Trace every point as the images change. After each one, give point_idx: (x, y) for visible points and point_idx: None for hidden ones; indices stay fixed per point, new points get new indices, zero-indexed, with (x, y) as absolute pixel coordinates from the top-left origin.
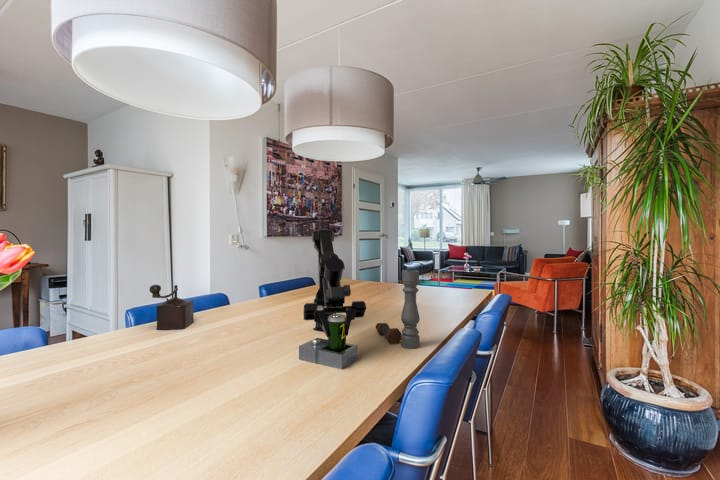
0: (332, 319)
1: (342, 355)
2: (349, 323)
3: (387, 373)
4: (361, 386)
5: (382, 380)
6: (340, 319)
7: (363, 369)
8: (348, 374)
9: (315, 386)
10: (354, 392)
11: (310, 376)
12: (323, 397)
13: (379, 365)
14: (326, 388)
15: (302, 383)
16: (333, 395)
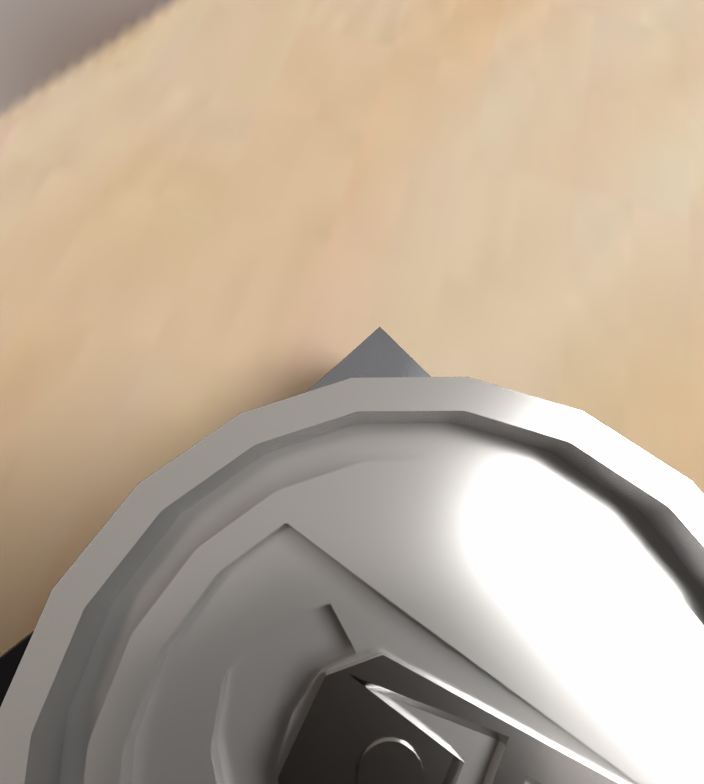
0: (653, 502)
1: (367, 340)
2: (16, 654)
3: (63, 207)
4: (317, 86)
5: (152, 122)
6: (340, 406)
7: (202, 323)
8: (346, 270)
9: (611, 160)
10: (382, 34)
11: (641, 316)
12: (572, 28)
13: (42, 360)
14: (541, 118)
15: (701, 223)
16: (511, 34)
